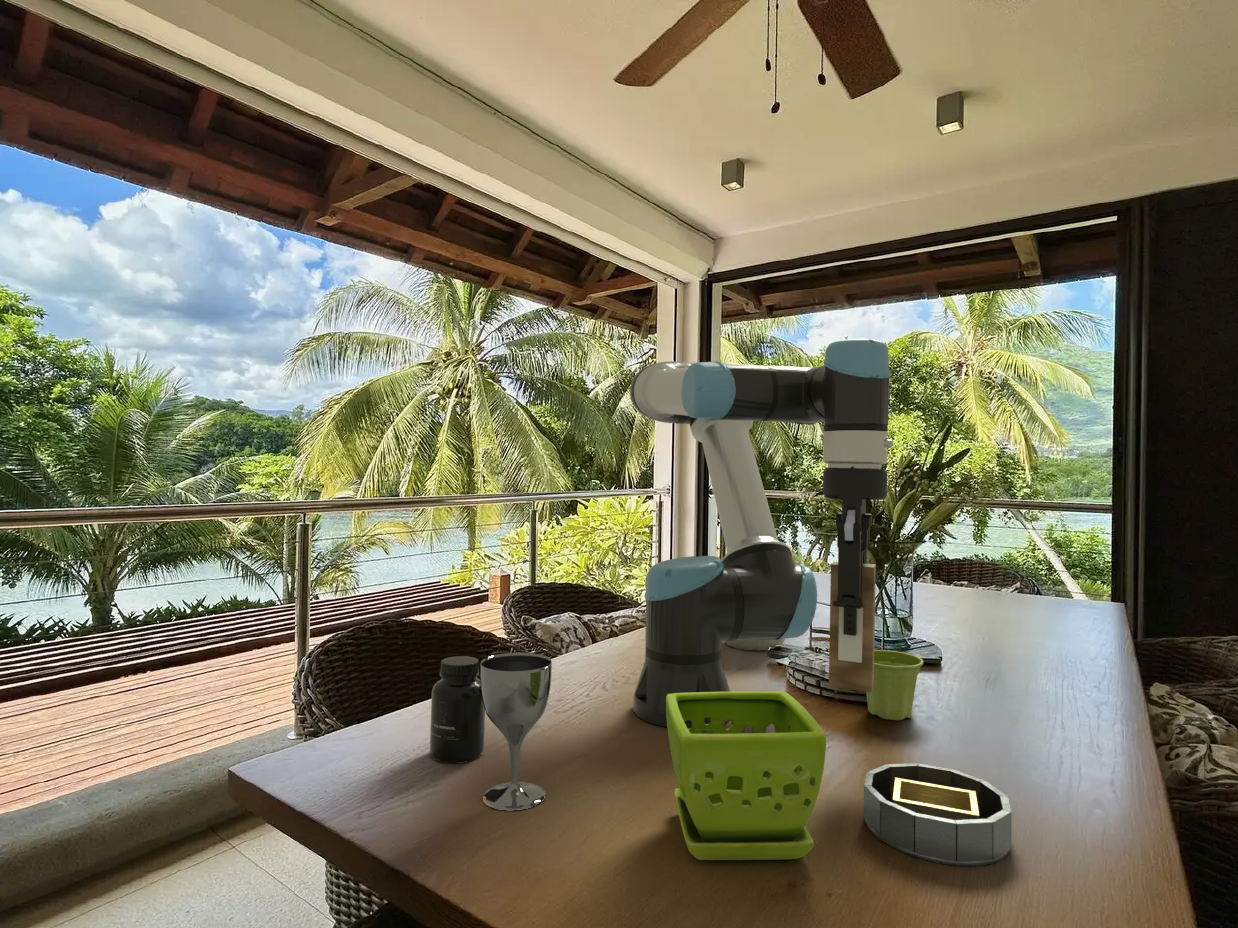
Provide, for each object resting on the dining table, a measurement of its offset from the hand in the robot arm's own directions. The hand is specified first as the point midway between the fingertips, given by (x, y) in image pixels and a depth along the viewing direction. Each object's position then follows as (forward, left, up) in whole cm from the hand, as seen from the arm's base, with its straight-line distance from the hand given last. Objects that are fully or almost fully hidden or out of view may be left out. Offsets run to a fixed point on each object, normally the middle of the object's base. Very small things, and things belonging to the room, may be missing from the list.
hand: (851, 656), depth 86 cm
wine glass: (-34, -23, -14) cm, 43 cm away
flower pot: (-9, -21, -14) cm, 27 cm away
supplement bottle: (-47, -16, -14) cm, 52 cm away
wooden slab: (0, 0, -4) cm, 4 cm away
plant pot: (+3, +25, -14) cm, 29 cm away
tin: (+9, -11, -14) cm, 20 cm away
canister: (-26, +59, -14) cm, 66 cm away
